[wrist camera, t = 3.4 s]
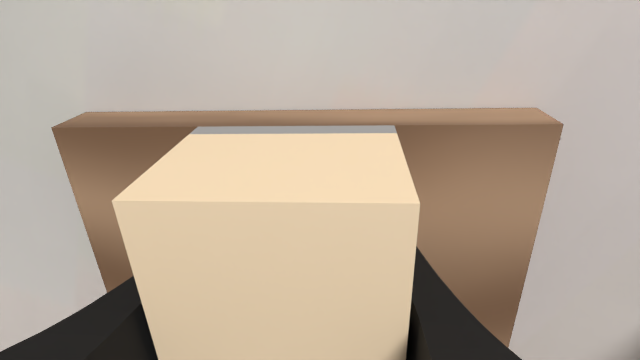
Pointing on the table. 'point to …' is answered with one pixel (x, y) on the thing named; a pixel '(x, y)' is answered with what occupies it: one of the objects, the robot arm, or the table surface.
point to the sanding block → (275, 244)
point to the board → (424, 165)
